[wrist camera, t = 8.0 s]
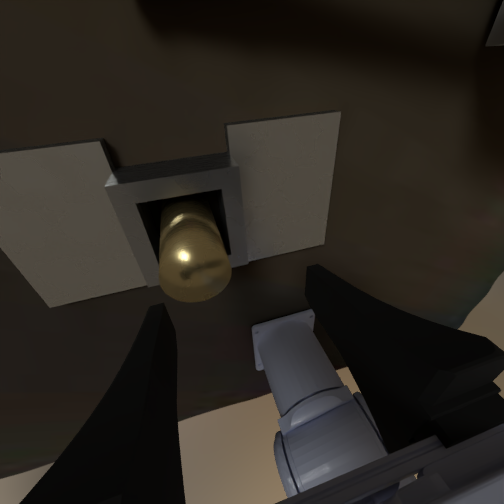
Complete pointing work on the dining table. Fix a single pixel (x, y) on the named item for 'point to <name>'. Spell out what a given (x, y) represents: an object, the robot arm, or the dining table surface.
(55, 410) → the dining table surface
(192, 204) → the hinge pin
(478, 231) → the dining table surface
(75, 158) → the hinge base
